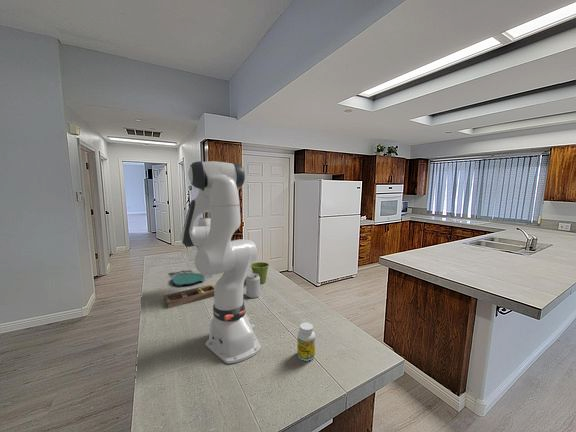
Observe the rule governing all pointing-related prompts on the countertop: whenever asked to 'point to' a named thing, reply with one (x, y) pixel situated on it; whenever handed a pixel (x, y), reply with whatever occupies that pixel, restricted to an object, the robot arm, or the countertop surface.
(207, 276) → the steel block
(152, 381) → the countertop surface
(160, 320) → the countertop surface
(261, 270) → the plant pot
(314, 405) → the countertop surface
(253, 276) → the can
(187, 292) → the walnut rail
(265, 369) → the countertop surface
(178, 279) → the cutlery set
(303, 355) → the supplement bottle
